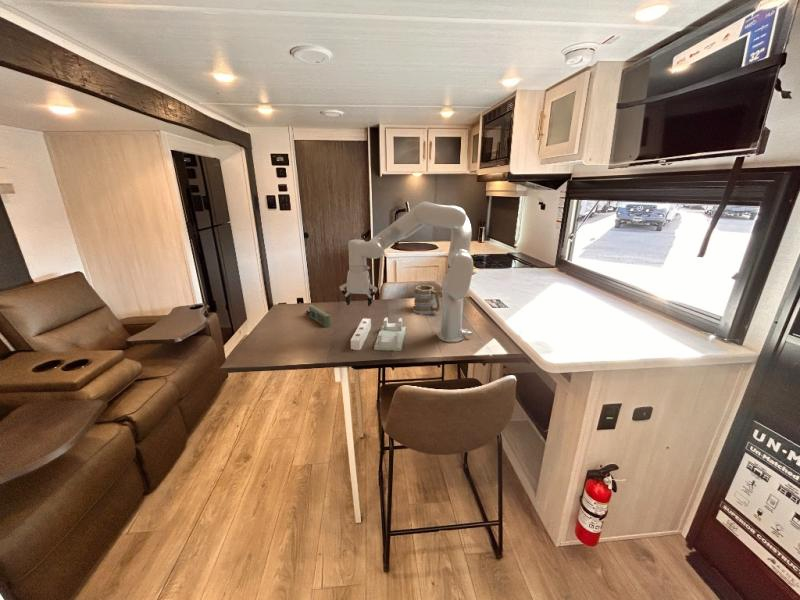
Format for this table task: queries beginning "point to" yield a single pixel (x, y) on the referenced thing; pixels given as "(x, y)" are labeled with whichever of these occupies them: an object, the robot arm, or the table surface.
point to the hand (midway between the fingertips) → (359, 304)
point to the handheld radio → (319, 316)
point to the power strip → (360, 334)
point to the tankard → (426, 300)
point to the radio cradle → (390, 336)
